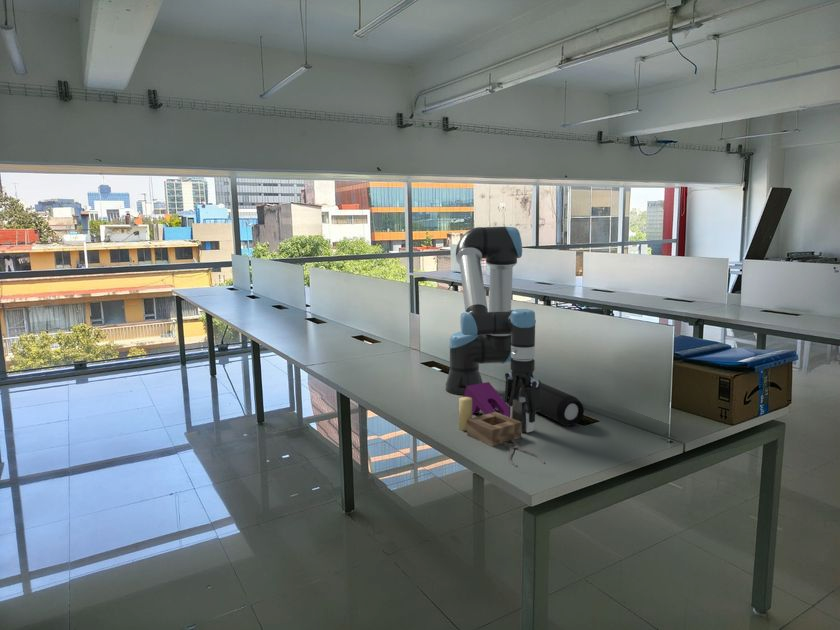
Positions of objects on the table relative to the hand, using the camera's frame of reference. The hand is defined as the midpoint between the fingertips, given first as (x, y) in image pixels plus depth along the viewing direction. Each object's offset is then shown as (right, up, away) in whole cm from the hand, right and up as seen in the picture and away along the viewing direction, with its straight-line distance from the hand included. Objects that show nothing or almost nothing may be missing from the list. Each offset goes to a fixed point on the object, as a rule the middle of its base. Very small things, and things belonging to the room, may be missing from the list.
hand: (521, 427), depth 183 cm
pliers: (-5, -4, -18) cm, 19 cm away
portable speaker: (+12, +1, +13) cm, 18 cm away
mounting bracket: (-9, +1, +14) cm, 17 cm away
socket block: (-10, -2, -5) cm, 11 cm away
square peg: (0, -1, 0) cm, 0 cm away
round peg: (-18, -1, +2) cm, 18 cm away
